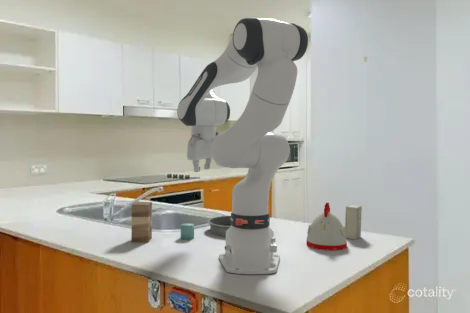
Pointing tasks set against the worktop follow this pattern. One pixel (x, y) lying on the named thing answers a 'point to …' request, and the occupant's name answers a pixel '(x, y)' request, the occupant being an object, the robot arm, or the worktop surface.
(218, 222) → the cake pan
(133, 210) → the tower block
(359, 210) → the skincare box
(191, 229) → the teal cube
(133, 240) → the tower block
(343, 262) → the worktop surface
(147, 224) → the tower block
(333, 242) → the kitchen timer
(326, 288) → the worktop surface
